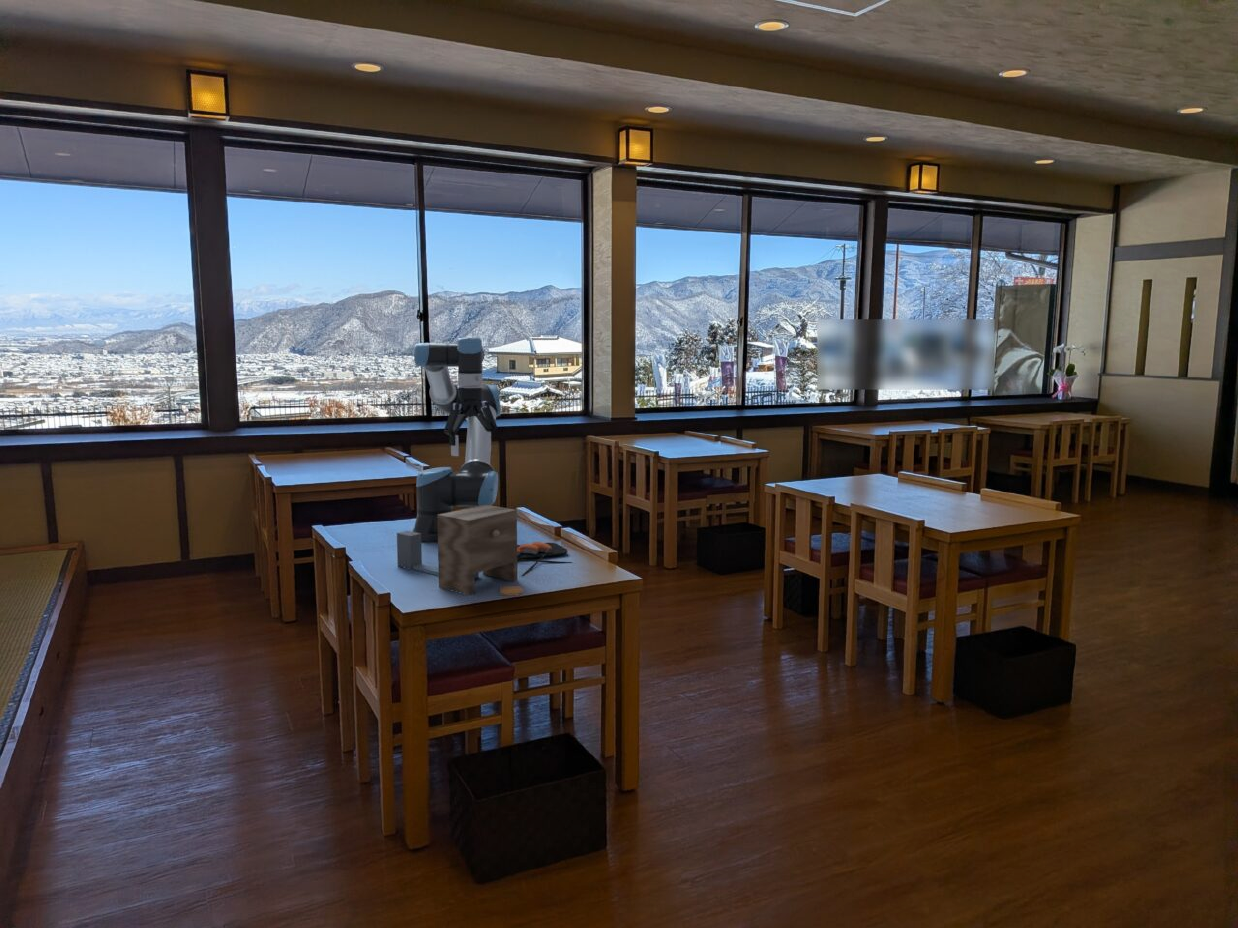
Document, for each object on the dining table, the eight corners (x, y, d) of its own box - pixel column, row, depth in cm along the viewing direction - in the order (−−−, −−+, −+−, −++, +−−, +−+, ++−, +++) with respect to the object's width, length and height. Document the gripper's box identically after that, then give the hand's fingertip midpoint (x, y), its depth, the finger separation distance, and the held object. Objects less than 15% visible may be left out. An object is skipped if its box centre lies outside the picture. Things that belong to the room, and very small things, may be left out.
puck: (495, 593, 226) (495, 589, 226) (510, 588, 231) (510, 584, 231) (511, 597, 223) (511, 592, 223) (527, 592, 228) (527, 588, 228)
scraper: (390, 567, 249) (389, 534, 248) (415, 561, 256) (414, 529, 255) (454, 584, 233) (454, 548, 232) (478, 577, 241) (478, 542, 239)
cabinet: (438, 587, 231) (437, 514, 228) (486, 572, 245) (485, 504, 242) (473, 596, 223) (472, 521, 220) (520, 580, 237) (520, 510, 234)
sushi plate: (554, 547, 278) (554, 535, 278) (591, 570, 251) (591, 557, 251) (466, 556, 266) (466, 544, 265) (496, 581, 239) (495, 567, 238)
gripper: (447, 389, 258) (448, 458, 261) (507, 385, 277) (508, 450, 280) (431, 388, 262) (432, 456, 265) (491, 384, 281) (492, 448, 285)
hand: (471, 453), depth 273 cm, fingers open, 13 cm apart
